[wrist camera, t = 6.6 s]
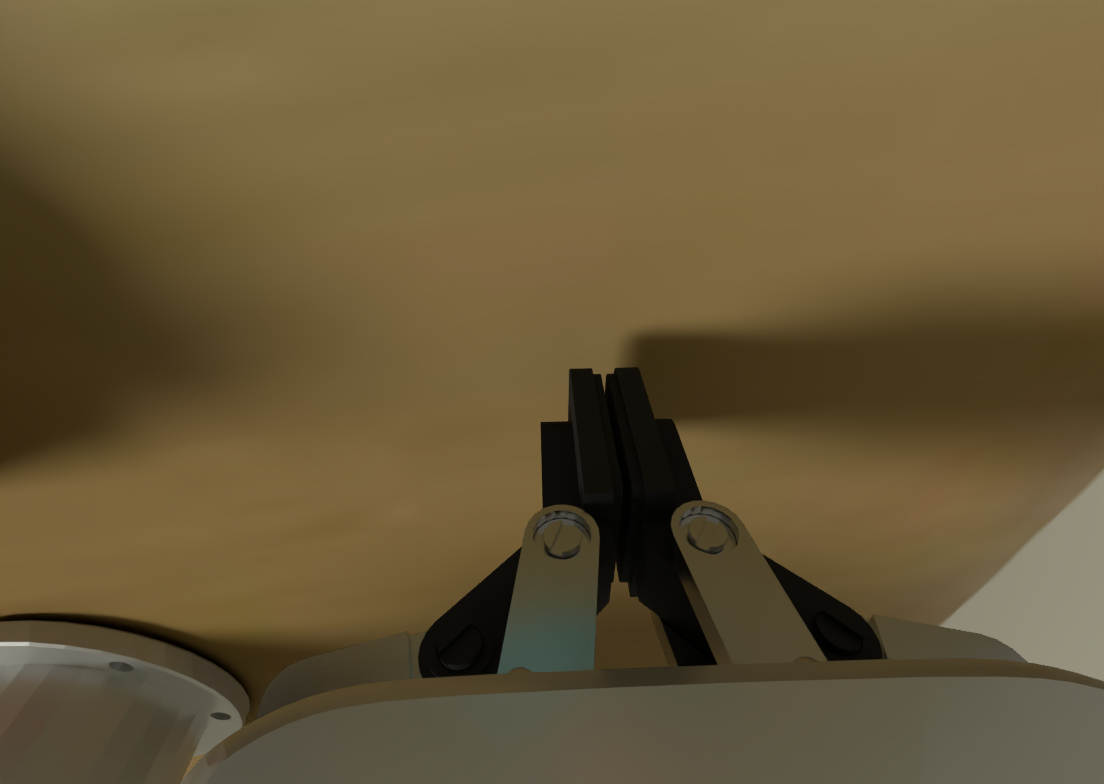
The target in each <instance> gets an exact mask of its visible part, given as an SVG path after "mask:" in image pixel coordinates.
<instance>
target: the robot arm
mask: <svg viewBox="0 0 1104 784" xmlns="http://www.w3.org/2000/svg"><path fill="white" fill-rule="evenodd" d="M541 455H542V496H543V509H542V510H540V511H539V512H537V513H535V514H534V516H533V517H532V518H531V519H530V520H529V522H528V524H527V527H526V529H525V533H524V538H523V544H522V547H521V548H520V549H519V550H517V551H516V552H515V553H514V554H513V555H512V556H510V557H509V558H508V559H507V560H506V561H505V562H504V563H502V564H501V565H500V566H499V567H498V568H497V569H496V570H494V571H493V572H492V573H491V574H490V575H489V576H487V577H486V578H485V579H484V580H483V581H482V582H481V583H479V584H478V585H477V586H476V587H475V588H474V589H473V590H471V591H470V592H469V593H468V594H467V595H466V596H464V597H463V598H462V599H461V600H460V601H459V602H458V603H456V604H455V605H454V606H453V607H452V608H451V609H450V610H448V611H447V612H446V613H445V614H444V615H443V616H441V617H440V618H439V619H438V620H437V621H436V622H435V623H434V624H433V625H432V626H431V627H430V629H429V630H428V631H426V632H422V633H419V634H415V635H411V636H409V634H408V631H407V632H403V633H399V634H396V635H392V636H388V637H384V638H381V639H377V640H373V641H370V642H366V643H362V644H358V645H355V646H351V647H347V648H343V649H340V650H336V651H332V652H328V653H325V654H321V655H317V656H313V657H310V658H306V659H303V660H300V661H298V662H296V663H294V664H291V665H289V666H288V667H287V668H285V669H284V670H283V671H282V672H280V673H279V674H278V675H277V676H276V677H275V678H274V679H273V680H272V682H271V683H270V685H269V686H268V687H267V689H266V690H265V692H264V694H263V697H262V700H261V703H260V705H259V709H258V715H257V720H255V721H253V722H251V723H249V724H248V725H246V726H244V727H243V725H244V723H245V720H246V717H247V715H248V712H249V710H250V703H249V697H248V696H247V694H246V692H245V690H244V689H243V687H242V685H241V684H240V683H239V682H238V681H237V680H236V679H235V678H233V677H232V676H231V675H230V674H229V673H228V672H226V671H225V670H223V669H222V668H220V667H219V666H217V665H216V664H214V663H212V662H210V661H208V660H206V659H204V658H202V657H200V656H198V655H196V654H194V653H192V652H190V651H187V650H185V649H182V648H179V647H177V646H174V645H172V644H169V643H166V642H163V641H160V640H156V639H153V638H149V637H146V636H142V635H139V634H136V633H131V632H127V631H122V630H117V629H112V628H107V627H102V626H96V625H88V624H81V623H73V622H64V621H43V620H21V621H1V622H0V784H1104V681H1101V680H1098V679H1094V678H1091V677H1088V676H1085V675H1082V674H1078V673H1075V672H1071V671H1067V670H1062V669H1059V668H1055V667H1050V666H1044V665H1039V664H1034V663H1028V662H1027V661H1026V660H1025V659H1023V658H1022V657H1021V656H1020V655H1019V654H1018V653H1017V652H1016V651H1014V650H1013V649H1012V648H1010V647H1008V646H1007V645H1005V644H1003V643H1002V642H1000V641H998V640H997V639H994V638H991V637H988V636H984V635H982V634H978V633H972V632H966V631H961V630H955V629H950V628H944V627H939V626H933V625H928V624H922V623H917V622H911V621H906V620H900V619H895V618H889V617H884V616H878V615H873V616H872V617H871V619H865V618H863V617H862V616H860V615H859V614H858V613H856V612H855V611H854V610H852V609H851V608H850V607H848V606H847V605H845V604H843V603H842V602H840V601H838V600H837V599H835V598H833V597H832V596H830V595H829V594H827V593H825V592H824V591H822V590H820V589H819V588H817V587H815V586H814V585H812V584H810V583H809V582H807V581H806V580H804V579H802V578H801V577H799V576H797V575H796V574H794V573H792V572H791V571H789V570H787V569H786V568H784V567H783V566H781V565H779V564H778V563H776V562H774V561H773V560H771V559H769V558H768V557H766V556H764V555H763V554H762V553H761V552H760V550H759V548H758V547H757V545H756V543H755V542H754V540H753V539H752V537H751V535H750V534H749V532H748V530H747V529H746V527H745V526H744V524H743V523H742V521H741V520H740V519H739V518H738V517H737V515H736V514H734V513H733V512H732V511H730V510H729V509H728V508H726V507H724V506H721V505H719V504H717V503H714V502H709V501H703V500H702V498H701V495H700V492H699V489H698V487H697V484H696V481H695V478H694V476H693V473H692V470H691V467H690V465H689V462H688V459H687V456H686V453H685V451H684V448H683V445H682V442H681V440H680V437H679V434H678V431H677V429H676V426H675V424H674V422H673V420H672V419H655V418H654V415H653V412H652V409H651V406H650V403H649V399H648V396H647V393H646V390H645V387H644V384H643V380H642V377H641V374H640V371H639V369H638V368H637V367H632V368H615V370H614V374H607V375H606V385H605V393H604V388H603V383H602V378H601V374H593V371H592V369H591V368H588V369H570V370H569V406H568V421H567V422H541ZM615 563H616V565H617V571H618V577H619V581H620V582H628V587H629V592H630V597H638V598H639V601H640V602H641V603H642V604H644V605H645V606H646V607H648V608H649V609H650V610H651V611H652V612H651V614H652V619H653V624H654V626H655V629H656V632H657V635H658V637H659V640H660V643H661V646H662V649H663V651H664V654H665V657H666V660H667V662H668V665H669V667H653V668H627V669H602V670H594V656H595V633H596V616H597V615H598V614H599V613H600V611H601V610H602V609H603V608H604V607H605V606H606V605H607V604H608V602H609V598H610V590H611V583H613V579H614V571H615ZM206 753H207V754H206ZM201 754H206V755H204V756H203V757H202V758H201V759H200V760H199V762H198V763H197V764H196V765H195V766H194V767H193V768H192V769H191V771H190V772H189V773H188V774H187V775H186V776H185V778H184V779H183V780H182V778H183V776H184V774H185V772H186V770H187V768H188V765H189V763H190V761H191V759H192V757H193V756H197V755H201ZM181 780H182V782H181Z"/></svg>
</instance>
